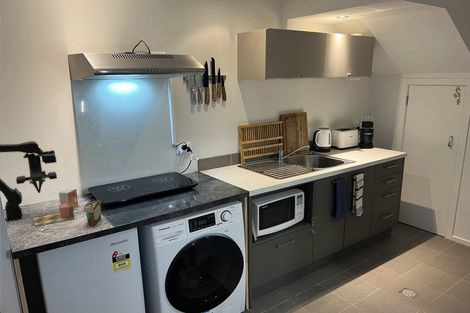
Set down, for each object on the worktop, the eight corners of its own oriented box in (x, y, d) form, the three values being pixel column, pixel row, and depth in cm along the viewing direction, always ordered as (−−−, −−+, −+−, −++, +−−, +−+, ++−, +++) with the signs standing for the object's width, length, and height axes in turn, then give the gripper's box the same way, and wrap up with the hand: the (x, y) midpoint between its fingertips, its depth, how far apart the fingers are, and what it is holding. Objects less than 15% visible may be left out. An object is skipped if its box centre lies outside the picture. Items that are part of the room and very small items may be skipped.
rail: (35, 227, 171) (33, 213, 169) (34, 221, 177) (32, 208, 176) (74, 218, 180) (72, 206, 178) (72, 214, 187) (70, 202, 185)
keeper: (61, 218, 177) (60, 208, 176) (60, 214, 182) (58, 204, 181) (69, 216, 179) (68, 206, 178) (68, 213, 185) (67, 203, 183)
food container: (90, 218, 180) (88, 200, 178) (102, 218, 181) (100, 200, 178) (82, 228, 168) (79, 209, 166) (94, 227, 169) (92, 208, 166)
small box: (69, 210, 191) (67, 193, 189) (60, 210, 192) (58, 192, 190) (78, 205, 199) (76, 188, 197) (70, 205, 200) (68, 188, 198)
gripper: (13, 170, 171) (18, 200, 174) (55, 165, 180) (59, 193, 183) (14, 166, 180) (19, 194, 184) (54, 161, 189) (57, 188, 193)
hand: (39, 192), depth 186 cm, fingers closed
